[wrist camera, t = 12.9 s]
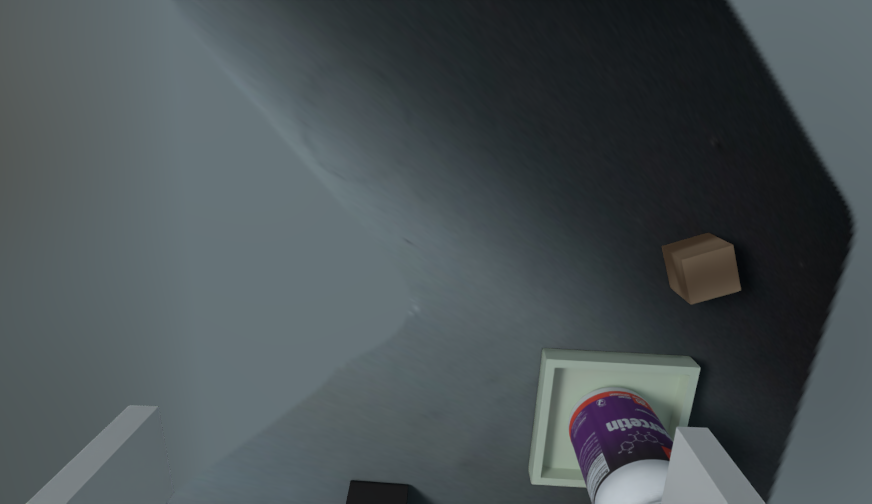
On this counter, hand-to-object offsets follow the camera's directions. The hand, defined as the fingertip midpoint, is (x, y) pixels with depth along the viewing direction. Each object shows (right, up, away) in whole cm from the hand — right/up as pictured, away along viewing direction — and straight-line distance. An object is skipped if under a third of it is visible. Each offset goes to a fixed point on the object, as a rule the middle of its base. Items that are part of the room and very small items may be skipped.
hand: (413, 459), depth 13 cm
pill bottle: (+17, -11, +34) cm, 40 cm away
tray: (+17, -11, +35) cm, 40 cm away
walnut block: (+23, +5, +30) cm, 38 cm away
